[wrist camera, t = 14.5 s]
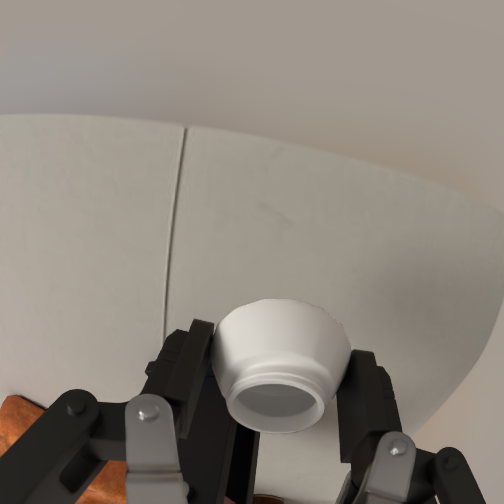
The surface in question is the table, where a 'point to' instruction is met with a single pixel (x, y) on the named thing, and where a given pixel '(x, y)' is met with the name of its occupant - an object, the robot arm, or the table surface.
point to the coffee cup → (267, 500)
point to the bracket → (216, 450)
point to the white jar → (279, 363)
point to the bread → (24, 415)
